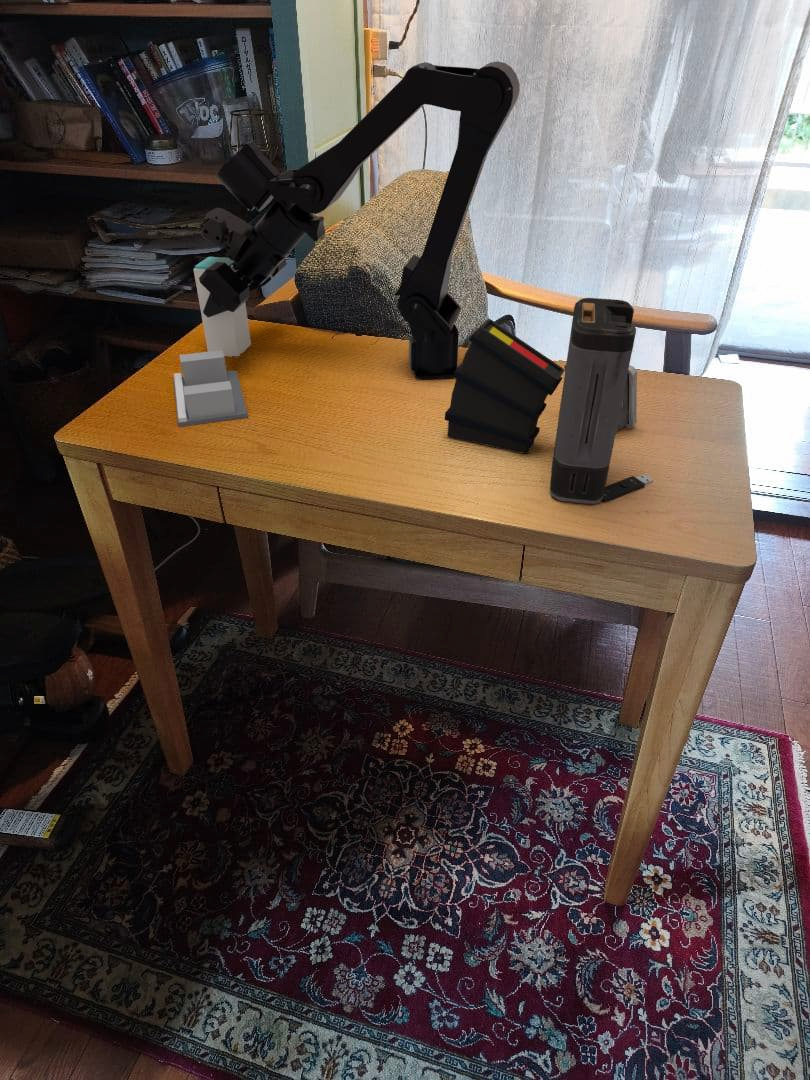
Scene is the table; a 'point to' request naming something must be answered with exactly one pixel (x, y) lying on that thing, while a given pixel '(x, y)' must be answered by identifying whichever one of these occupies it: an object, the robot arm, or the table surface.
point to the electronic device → (591, 398)
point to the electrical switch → (628, 401)
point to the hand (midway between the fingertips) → (215, 307)
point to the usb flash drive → (625, 487)
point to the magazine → (500, 390)
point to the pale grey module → (222, 318)
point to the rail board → (207, 390)
